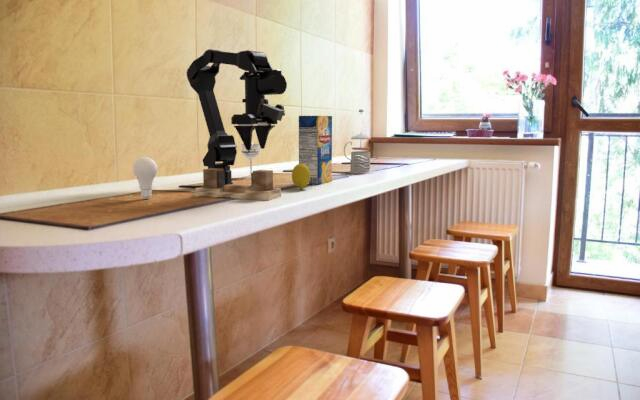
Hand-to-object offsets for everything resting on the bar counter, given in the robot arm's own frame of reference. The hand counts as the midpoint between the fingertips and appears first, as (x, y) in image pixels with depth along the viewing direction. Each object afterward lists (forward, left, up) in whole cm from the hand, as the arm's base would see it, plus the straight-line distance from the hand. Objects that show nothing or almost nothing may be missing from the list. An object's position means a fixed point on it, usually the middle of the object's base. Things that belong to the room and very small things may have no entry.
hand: (255, 149), depth 162 cm
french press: (+13, +65, -12) cm, 67 cm away
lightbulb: (-18, -28, -12) cm, 35 cm away
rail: (+2, -15, -12) cm, 19 cm away
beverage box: (+10, +24, -12) cm, 29 cm away
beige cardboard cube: (+9, -15, -11) cm, 21 cm away
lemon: (+12, +6, -12) cm, 18 cm away
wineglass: (-18, +32, -12) cm, 39 cm away
